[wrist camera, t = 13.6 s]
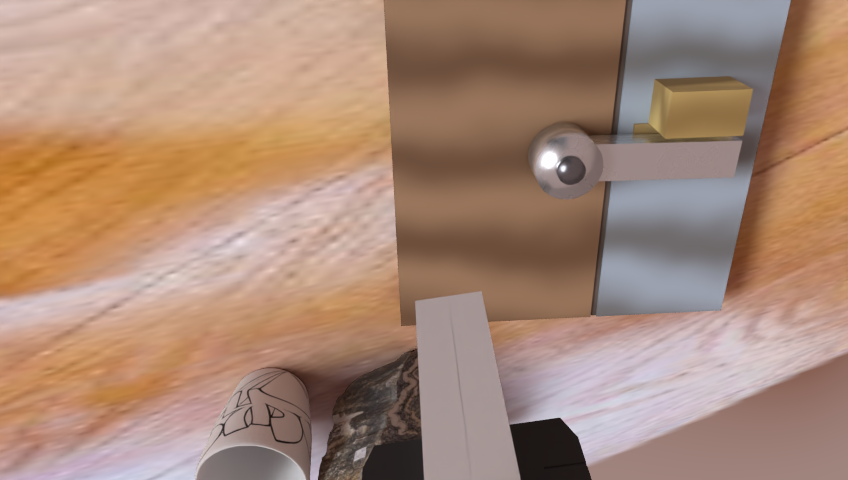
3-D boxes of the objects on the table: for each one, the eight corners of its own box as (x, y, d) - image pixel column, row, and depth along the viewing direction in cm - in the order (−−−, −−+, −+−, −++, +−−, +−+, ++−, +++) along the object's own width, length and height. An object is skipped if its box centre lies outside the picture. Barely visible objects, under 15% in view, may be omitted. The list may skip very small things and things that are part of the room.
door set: (380, -69, 41) (379, -63, 35) (784, -83, 41) (841, -79, 36) (400, 306, 54) (401, 351, 49) (706, 291, 54) (739, 334, 49)
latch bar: (526, 183, 46) (535, 204, 43) (530, 123, 44) (540, 140, 41) (718, 178, 46) (740, 198, 43) (731, 118, 44) (756, 134, 41)
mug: (281, 462, 62) (263, 557, 53) (196, 431, 59) (162, 525, 50) (337, 379, 57) (327, 468, 48) (248, 341, 55) (220, 428, 46)
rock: (508, 430, 58) (441, 555, 46) (449, 458, 62) (372, 580, 50) (426, 324, 58) (335, 420, 45) (372, 359, 62) (275, 456, 50)
